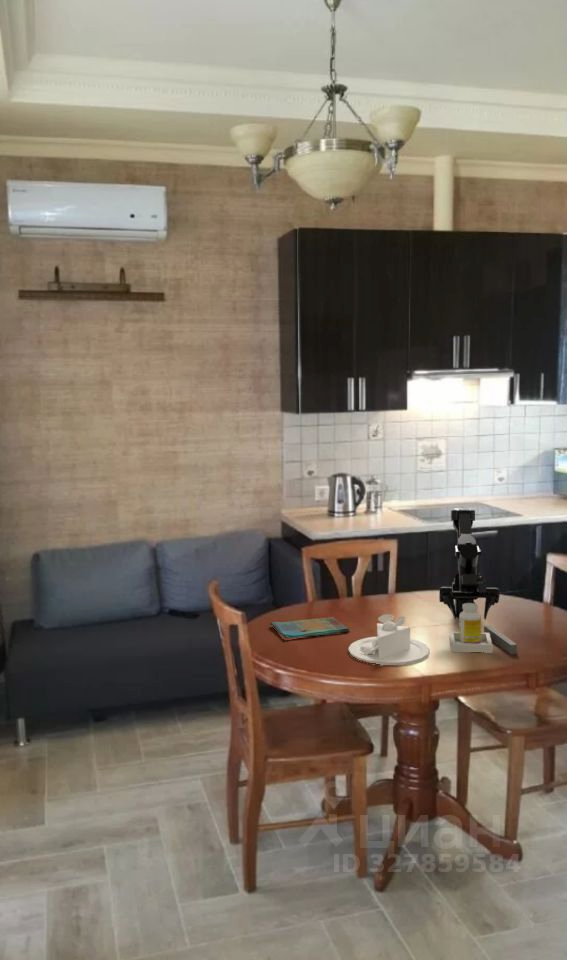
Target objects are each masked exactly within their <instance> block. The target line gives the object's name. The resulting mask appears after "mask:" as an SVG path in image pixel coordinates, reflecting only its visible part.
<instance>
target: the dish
mask: <svg viewBox="0 0 567 960" xmlns="http://www.w3.org/2000/svg"><path fill="white" fill-rule="evenodd" d="M393 619H394V615H392V614H389V613H385V614H382V615H380V616H379V617H378V618H377V620H378V621H379V622H380V623H379V622H377V623H376V636H369V637H365V638H361V639H358V640H355V641H354V642H352V643H350V645H349V647H348V653H349V652H350V653H349V655H350V654H351V655H352V656H353V657H355V658H357V659H359V660H363V661H366V662H370V663H376V664H380V665H379V666H383V665H396V667H397V665H399V666H406V665H407V666H409V665H412V664H415V663H419V662H423V661H424V660H426V659H427V658H428V657H429V655H430V648H429V646H428V645H427V644H426V643H424V642H422V641H421V640H417V639H413V638H411V626H404V625H403V624H404V623H405V621H406V620H405V619H406V617H405V616H399V617H397V618H396V619H395V622H394V621H392V620H393ZM351 655H350V656H351ZM352 656H351V657H352ZM353 657H352V658H353ZM355 658H354V659H355ZM357 659H356V660H357ZM359 660H358V661H359ZM405 664H406V665H405Z"/></svg>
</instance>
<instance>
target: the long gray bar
mask: <svg viewBox="0 0 567 960" xmlns="http://www.w3.org/2000/svg"><path fill="white" fill-rule="evenodd" d="M483 633H489V634H490V638H491V641H492V642H493V641H494V642H493V643H495V644H496V645H497V644H498V645H497V646H499V647H500V648H502V649H503V650H504V651H505V650H506V651H505V652H507V654H510V655H517V654H518V644H517V643H516V642H514V641H513V640H511V639H510V638H508V637H507V636H506V635H504V634H503V633H501V632H500V631H499V630H497V629H496V628H495V627H493V626H492V625H490V624H488V625H487V624H486V625H483Z"/></svg>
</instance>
